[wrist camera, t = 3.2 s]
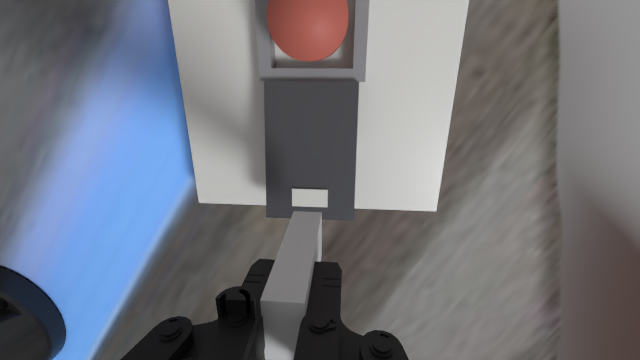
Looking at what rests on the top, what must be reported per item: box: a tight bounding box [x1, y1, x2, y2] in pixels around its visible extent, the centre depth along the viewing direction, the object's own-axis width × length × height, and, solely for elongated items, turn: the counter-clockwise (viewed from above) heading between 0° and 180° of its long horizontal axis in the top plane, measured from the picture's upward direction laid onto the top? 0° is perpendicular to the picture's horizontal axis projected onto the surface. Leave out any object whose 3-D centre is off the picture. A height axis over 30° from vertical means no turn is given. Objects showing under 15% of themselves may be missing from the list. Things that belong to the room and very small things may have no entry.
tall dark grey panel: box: [264, 81, 359, 221], centre depth 20 cm, size 6×9×1 cm, turn 0°
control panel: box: [168, 0, 469, 211], centre depth 20 cm, size 19×26×4 cm
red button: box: [267, 0, 348, 62], centre depth 17 cm, size 4×4×2 cm
